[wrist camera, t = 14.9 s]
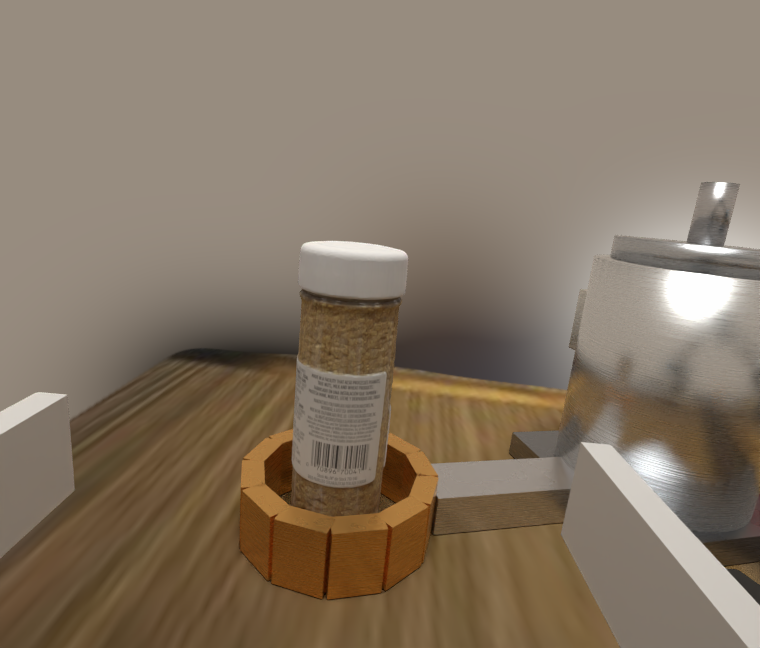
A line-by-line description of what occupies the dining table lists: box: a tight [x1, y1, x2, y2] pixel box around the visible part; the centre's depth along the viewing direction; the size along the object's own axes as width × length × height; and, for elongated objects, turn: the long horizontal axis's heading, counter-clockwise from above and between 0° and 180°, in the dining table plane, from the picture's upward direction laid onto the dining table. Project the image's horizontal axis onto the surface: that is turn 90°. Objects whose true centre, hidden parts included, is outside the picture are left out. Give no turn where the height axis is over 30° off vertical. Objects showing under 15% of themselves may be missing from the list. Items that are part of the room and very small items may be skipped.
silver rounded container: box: [240, 182, 760, 600], centre depth 24 cm, size 28×12×18 cm, turn 104°
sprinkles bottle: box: [290, 241, 408, 517], centre depth 21 cm, size 5×5×14 cm
